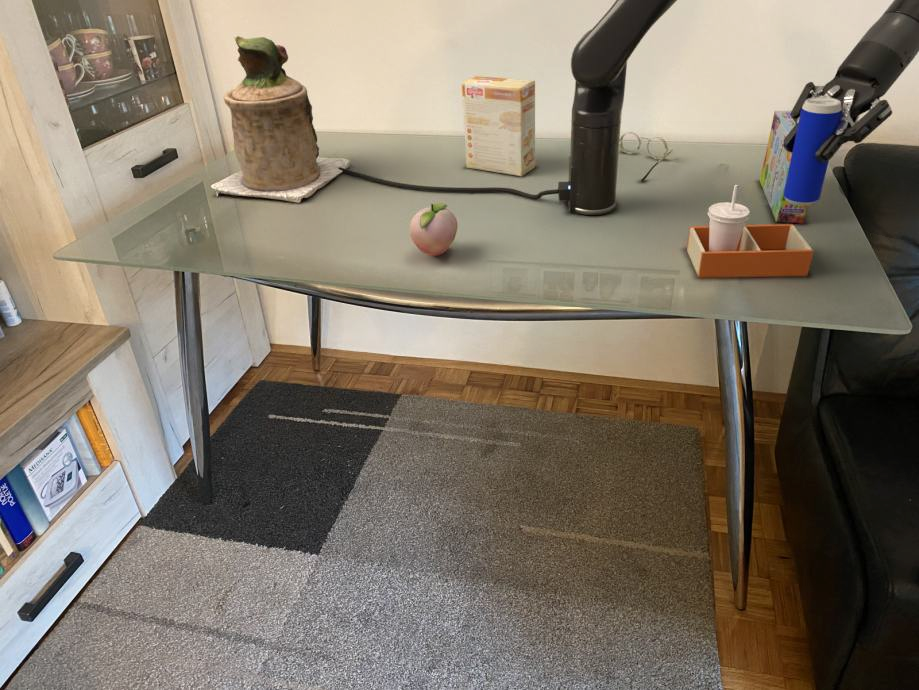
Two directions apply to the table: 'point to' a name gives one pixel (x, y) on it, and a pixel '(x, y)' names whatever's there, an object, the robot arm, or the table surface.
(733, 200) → the smoothie
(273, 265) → the table surface
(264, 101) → the cookie jar
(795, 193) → the beverage can
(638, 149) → the round eyeglasses
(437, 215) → the decorative fruit
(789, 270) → the carrier
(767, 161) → the snack box
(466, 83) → the coffeecake box
